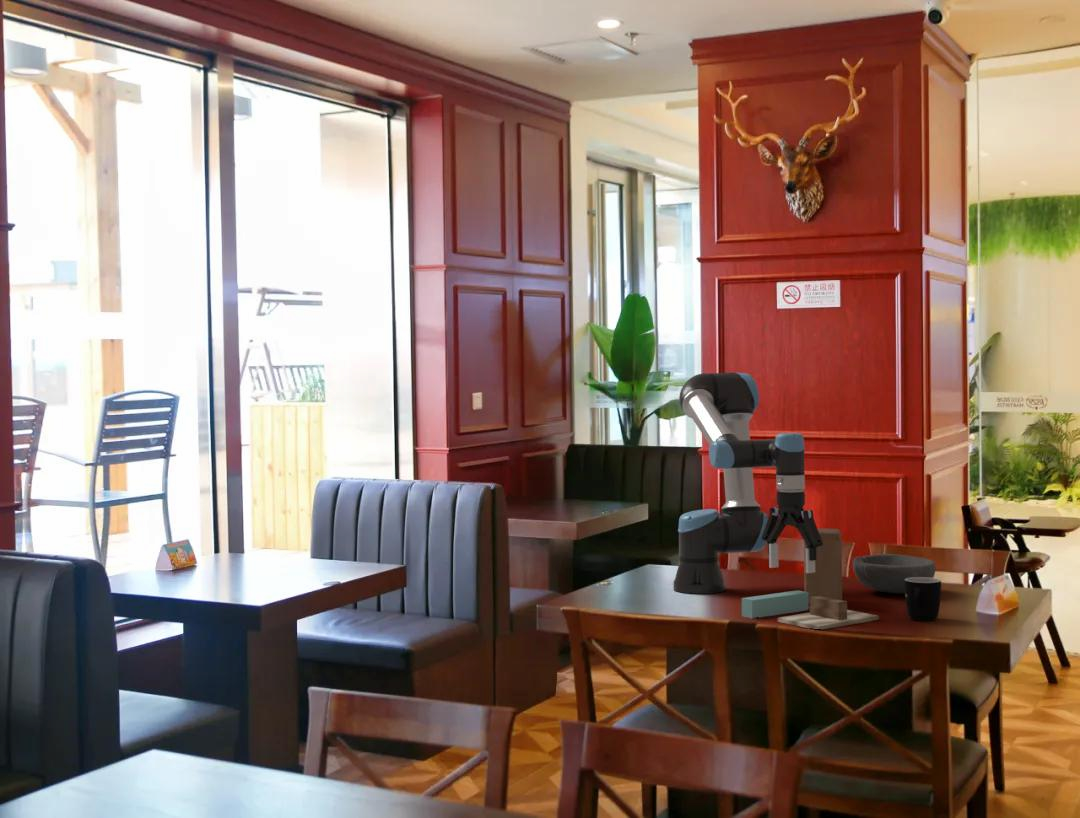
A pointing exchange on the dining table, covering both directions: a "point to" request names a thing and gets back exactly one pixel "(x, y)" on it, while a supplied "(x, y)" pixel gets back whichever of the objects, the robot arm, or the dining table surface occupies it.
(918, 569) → the bowl
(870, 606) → the dining table surface
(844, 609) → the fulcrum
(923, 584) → the mug
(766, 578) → the dining table surface
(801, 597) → the bar
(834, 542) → the wooden block
